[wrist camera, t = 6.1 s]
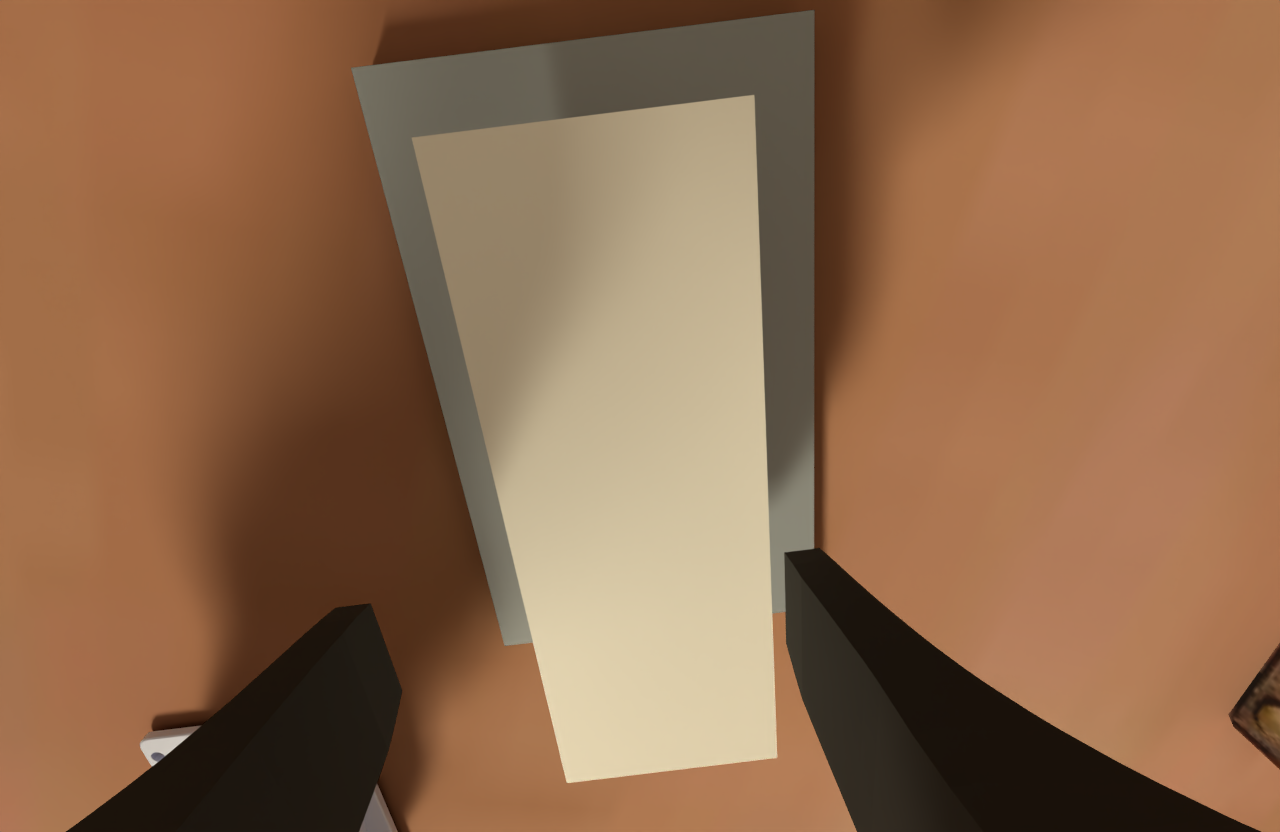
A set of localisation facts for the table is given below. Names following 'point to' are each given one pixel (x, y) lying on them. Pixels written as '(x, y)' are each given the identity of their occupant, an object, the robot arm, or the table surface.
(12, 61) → the table surface
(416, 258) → the flat gray board
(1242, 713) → the book
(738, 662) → the cream rectangular block
